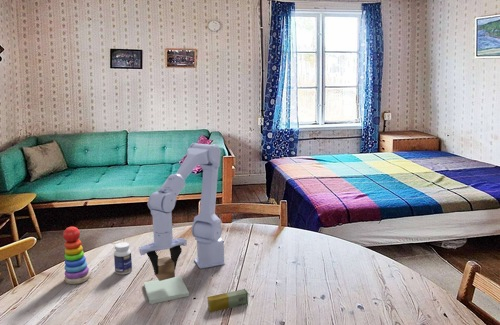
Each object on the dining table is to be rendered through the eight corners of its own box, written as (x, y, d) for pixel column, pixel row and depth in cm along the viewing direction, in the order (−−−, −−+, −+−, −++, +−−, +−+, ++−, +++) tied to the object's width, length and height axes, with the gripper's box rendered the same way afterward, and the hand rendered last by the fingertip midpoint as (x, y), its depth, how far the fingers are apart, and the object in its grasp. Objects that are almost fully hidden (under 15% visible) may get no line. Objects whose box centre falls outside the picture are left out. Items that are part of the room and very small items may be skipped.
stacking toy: (79, 271, 144) (74, 221, 140) (95, 277, 140) (90, 225, 137) (59, 281, 138) (53, 228, 134) (75, 287, 134) (69, 233, 130)
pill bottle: (127, 275, 141) (125, 248, 139) (112, 274, 142) (109, 247, 140) (135, 268, 147) (133, 242, 145) (120, 266, 148) (118, 240, 146)
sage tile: (180, 278, 139) (180, 275, 139) (188, 295, 128) (188, 292, 128) (143, 285, 135) (143, 282, 135) (149, 304, 124) (149, 300, 124)
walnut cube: (169, 270, 134) (168, 256, 133) (174, 277, 130) (174, 262, 129) (154, 274, 132) (153, 259, 131) (159, 281, 127) (158, 266, 126)
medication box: (245, 300, 126) (245, 288, 125) (248, 304, 124) (248, 292, 123) (207, 308, 122) (206, 296, 121) (209, 313, 119) (209, 300, 119)
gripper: (180, 221, 134) (181, 260, 137) (135, 230, 127) (138, 271, 130) (188, 228, 128) (190, 269, 131) (142, 237, 121) (144, 280, 124)
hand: (164, 270), depth 130 cm, fingers closed on walnut cube, 5 cm apart
